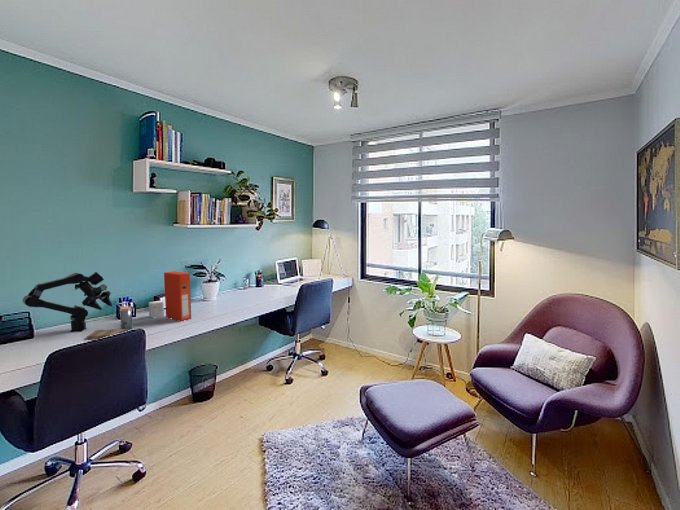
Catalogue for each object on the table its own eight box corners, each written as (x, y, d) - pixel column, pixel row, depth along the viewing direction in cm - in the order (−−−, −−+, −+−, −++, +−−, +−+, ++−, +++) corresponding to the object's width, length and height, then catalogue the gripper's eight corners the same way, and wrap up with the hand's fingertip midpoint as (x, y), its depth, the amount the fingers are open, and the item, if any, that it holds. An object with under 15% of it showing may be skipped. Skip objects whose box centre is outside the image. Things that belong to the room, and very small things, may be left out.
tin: (119, 331, 222) (118, 311, 221) (123, 328, 228) (122, 309, 226) (130, 330, 223) (129, 311, 222) (133, 327, 229) (132, 309, 228)
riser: (87, 339, 206) (86, 336, 205) (95, 333, 216) (95, 330, 216) (122, 337, 210) (121, 334, 209) (128, 331, 220) (128, 328, 220)
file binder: (180, 321, 242) (179, 274, 239) (165, 317, 252) (163, 272, 248) (191, 319, 249) (189, 273, 246) (176, 315, 258) (174, 271, 255)
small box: (160, 314, 260) (160, 300, 259) (164, 316, 256) (163, 301, 255) (148, 317, 253) (148, 302, 252) (152, 318, 250) (151, 303, 249)
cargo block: (121, 311, 222) (121, 308, 222) (123, 309, 226) (123, 307, 226) (128, 311, 223) (128, 308, 223) (130, 309, 227) (130, 307, 226)
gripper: (85, 283, 213) (104, 302, 214) (107, 278, 232) (124, 295, 233) (73, 296, 214) (92, 315, 215) (95, 290, 233) (113, 307, 234)
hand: (106, 307), depth 224 cm, fingers open, 9 cm apart
